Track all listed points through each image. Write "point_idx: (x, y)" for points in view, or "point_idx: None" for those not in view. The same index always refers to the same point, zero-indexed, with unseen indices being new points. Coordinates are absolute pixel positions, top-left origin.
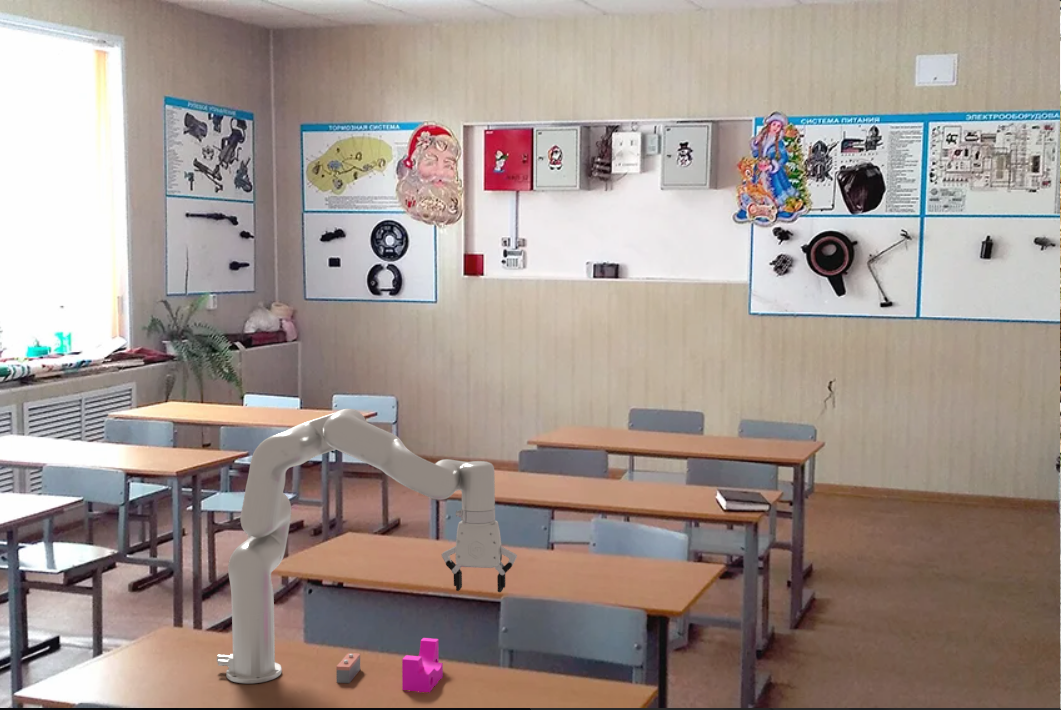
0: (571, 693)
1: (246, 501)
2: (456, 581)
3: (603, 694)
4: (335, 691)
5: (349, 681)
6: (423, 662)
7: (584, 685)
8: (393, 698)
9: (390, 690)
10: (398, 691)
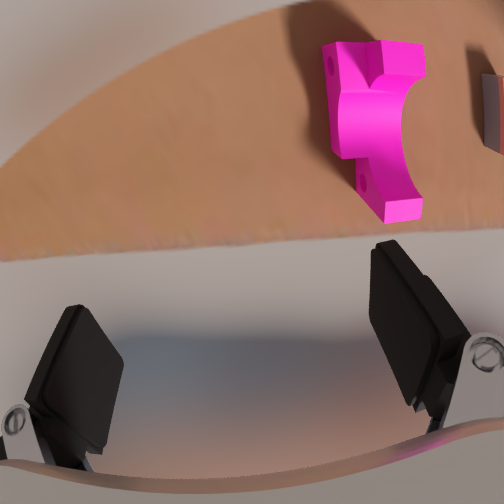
0: (39, 181)
1: None
2: (424, 282)
3: (4, 204)
4: (483, 32)
5: (483, 75)
6: (387, 151)
7: (43, 227)
8: (380, 4)
9: None
10: None
